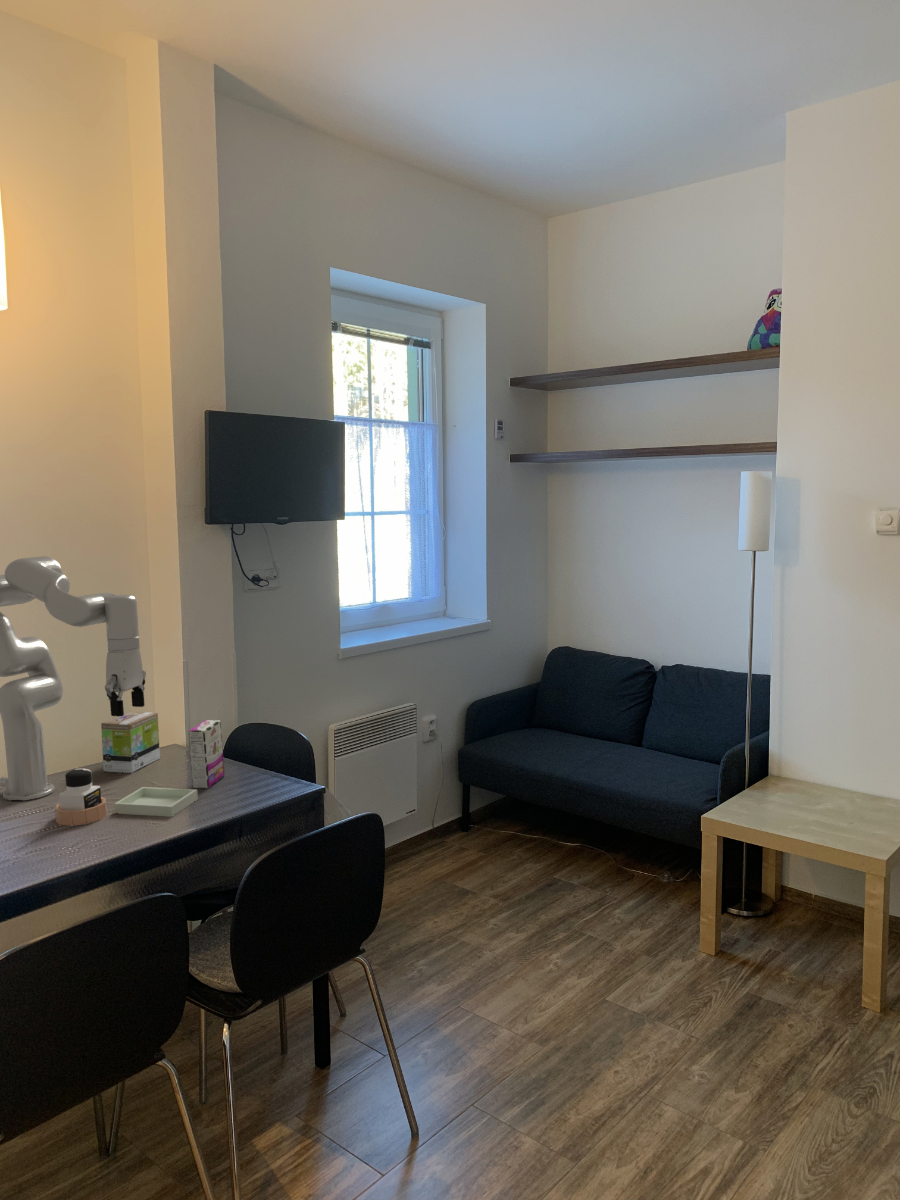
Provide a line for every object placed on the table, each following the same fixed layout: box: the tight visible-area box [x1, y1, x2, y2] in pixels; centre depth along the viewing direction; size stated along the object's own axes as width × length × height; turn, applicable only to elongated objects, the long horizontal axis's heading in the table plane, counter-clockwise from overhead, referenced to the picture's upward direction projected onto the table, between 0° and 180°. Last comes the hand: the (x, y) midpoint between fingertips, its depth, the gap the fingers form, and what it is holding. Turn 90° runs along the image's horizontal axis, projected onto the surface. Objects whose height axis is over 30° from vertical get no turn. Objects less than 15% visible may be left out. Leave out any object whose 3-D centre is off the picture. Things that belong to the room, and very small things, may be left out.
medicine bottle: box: [58, 768, 102, 811], centre depth 226 cm, size 7×7×12 cm
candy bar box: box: [188, 719, 226, 789], centre depth 251 cm, size 11×5×16 cm, turn 171°
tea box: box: [100, 711, 161, 774], centre depth 269 cm, size 15×10×15 cm, turn 167°
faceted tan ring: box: [54, 796, 108, 826], centre depth 227 cm, size 12×12×4 cm
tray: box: [113, 786, 199, 818], centre depth 233 cm, size 16×13×3 cm
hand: (128, 711), depth 229 cm, fingers open, 9 cm apart
